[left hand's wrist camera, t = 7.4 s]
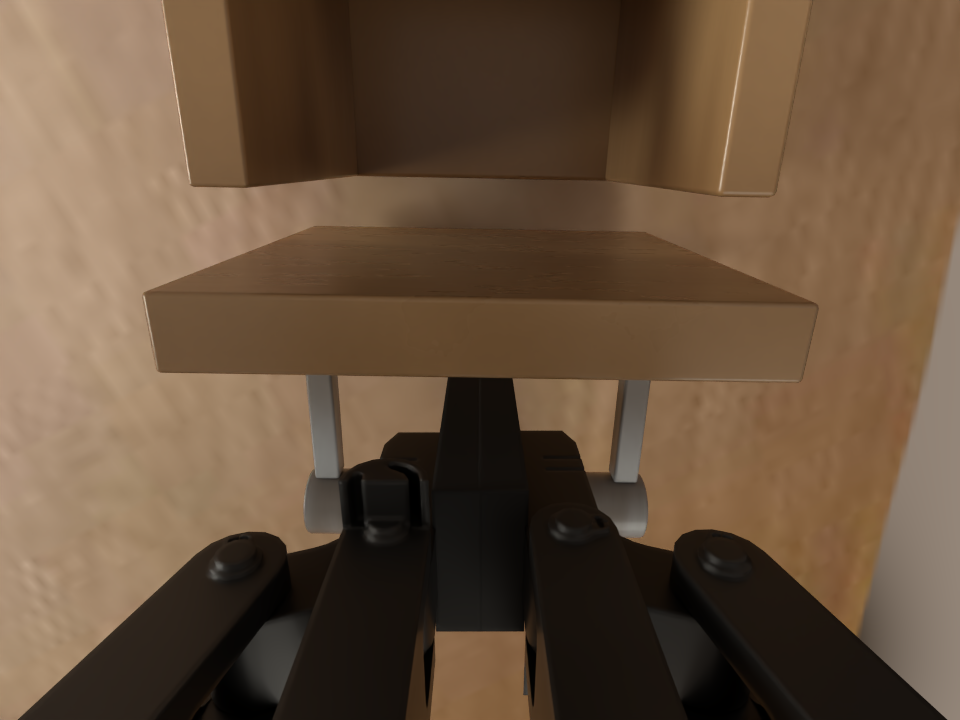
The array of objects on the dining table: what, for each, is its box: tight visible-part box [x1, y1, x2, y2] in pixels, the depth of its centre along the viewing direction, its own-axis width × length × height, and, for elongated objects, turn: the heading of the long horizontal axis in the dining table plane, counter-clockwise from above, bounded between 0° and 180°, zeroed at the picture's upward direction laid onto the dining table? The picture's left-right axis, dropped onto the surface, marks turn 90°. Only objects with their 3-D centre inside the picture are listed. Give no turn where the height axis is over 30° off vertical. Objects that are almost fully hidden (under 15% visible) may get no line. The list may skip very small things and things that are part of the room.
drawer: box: [142, 0, 818, 538], centre depth 10 cm, size 22×9×8 cm, turn 179°
